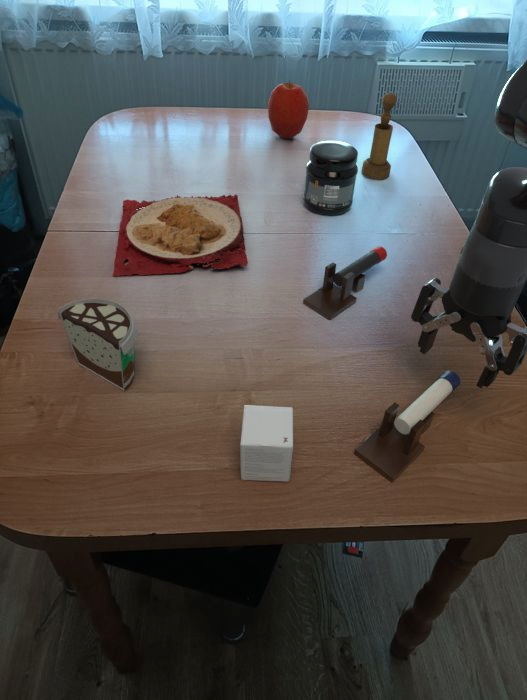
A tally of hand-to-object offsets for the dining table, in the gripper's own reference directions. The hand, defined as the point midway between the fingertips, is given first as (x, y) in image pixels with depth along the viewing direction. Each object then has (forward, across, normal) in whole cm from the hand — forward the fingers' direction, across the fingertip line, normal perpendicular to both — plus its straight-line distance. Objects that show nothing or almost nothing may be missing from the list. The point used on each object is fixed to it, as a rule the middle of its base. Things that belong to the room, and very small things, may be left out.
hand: (452, 366), depth 71 cm
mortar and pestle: (+7, +49, -51) cm, 71 cm away
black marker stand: (+7, +25, -7) cm, 27 cm away
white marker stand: (+7, 0, +11) cm, 13 cm away
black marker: (+4, +25, -13) cm, 28 cm away
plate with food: (+7, +58, 0) cm, 58 cm away
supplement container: (+7, +47, -31) cm, 57 cm away
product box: (+7, +10, +25) cm, 28 cm away
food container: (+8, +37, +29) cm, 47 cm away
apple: (0, +77, -50) cm, 92 cm away
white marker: (+4, 0, +5) cm, 6 cm away
